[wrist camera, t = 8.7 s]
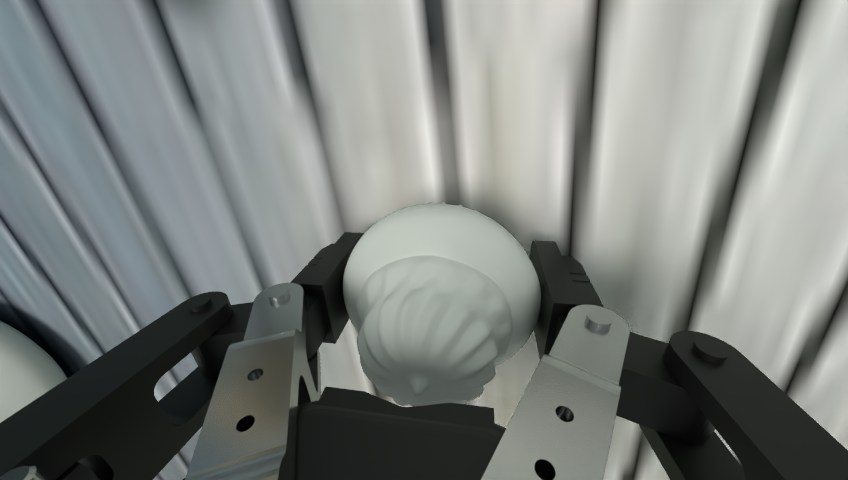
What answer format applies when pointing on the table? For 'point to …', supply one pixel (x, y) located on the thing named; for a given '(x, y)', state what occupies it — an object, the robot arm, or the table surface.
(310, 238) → the table surface
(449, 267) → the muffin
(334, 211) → the table surface
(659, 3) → the table surface
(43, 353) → the flower in vase
